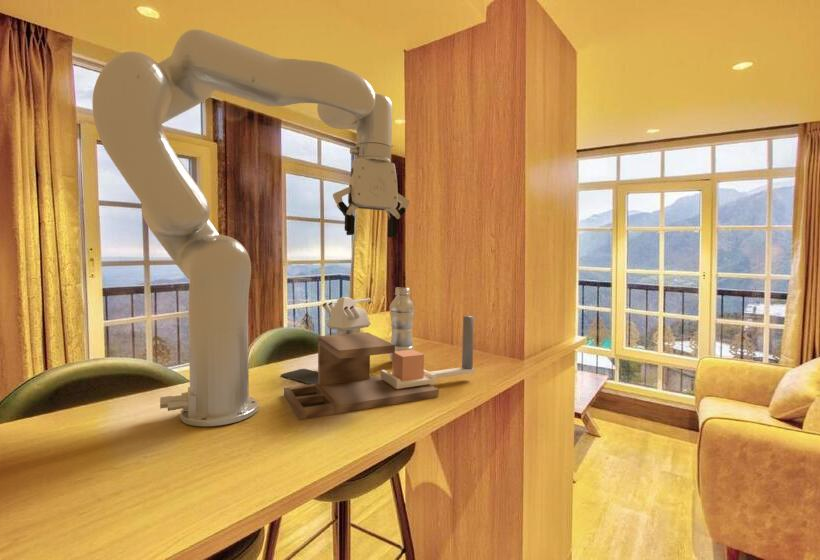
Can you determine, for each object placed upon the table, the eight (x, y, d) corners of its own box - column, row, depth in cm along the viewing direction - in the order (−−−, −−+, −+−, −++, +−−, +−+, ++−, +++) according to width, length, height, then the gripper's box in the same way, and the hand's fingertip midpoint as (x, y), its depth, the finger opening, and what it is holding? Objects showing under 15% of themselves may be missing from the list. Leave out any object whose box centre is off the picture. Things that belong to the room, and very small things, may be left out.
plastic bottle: (414, 366, 108) (415, 289, 107) (387, 365, 108) (388, 288, 107) (414, 359, 115) (415, 287, 113) (389, 359, 115) (390, 286, 114)
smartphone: (303, 367, 104) (346, 378, 95) (303, 371, 104) (346, 382, 95) (278, 374, 98) (321, 386, 89) (278, 378, 98) (321, 390, 89)
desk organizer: (299, 419, 72) (299, 354, 72) (283, 395, 85) (283, 338, 84) (438, 396, 85) (439, 340, 85) (407, 378, 98) (407, 329, 97)
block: (402, 380, 86) (402, 356, 86) (392, 374, 91) (392, 351, 91) (423, 377, 89) (423, 354, 88) (412, 371, 93) (412, 349, 93)
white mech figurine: (385, 366, 107) (386, 296, 106) (346, 378, 97) (346, 300, 96) (353, 358, 115) (353, 293, 114) (313, 368, 105) (314, 296, 103)
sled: (396, 389, 84) (397, 324, 83) (380, 378, 91) (381, 319, 90) (481, 376, 94) (483, 318, 93) (461, 367, 101) (462, 313, 100)
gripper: (340, 146, 83) (338, 233, 84) (417, 158, 91) (414, 237, 92) (329, 154, 90) (327, 234, 90) (402, 164, 98) (399, 238, 98)
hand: (371, 236), depth 91 cm, fingers open, 9 cm apart
